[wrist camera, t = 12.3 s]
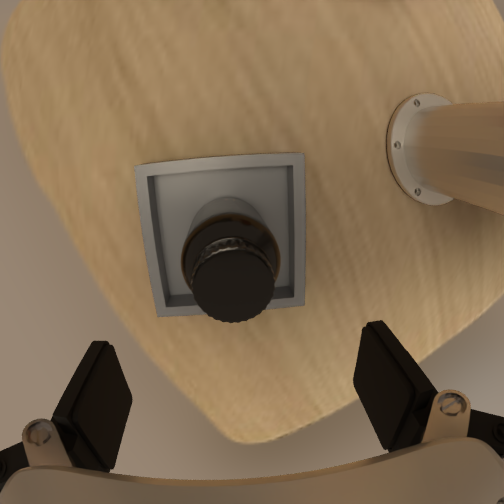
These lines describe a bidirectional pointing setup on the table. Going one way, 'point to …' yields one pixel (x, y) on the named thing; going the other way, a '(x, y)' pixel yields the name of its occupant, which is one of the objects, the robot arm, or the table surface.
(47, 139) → the table surface
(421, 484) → the robot arm
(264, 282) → the supplement bottle
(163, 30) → the table surface
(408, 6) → the table surface
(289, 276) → the box
